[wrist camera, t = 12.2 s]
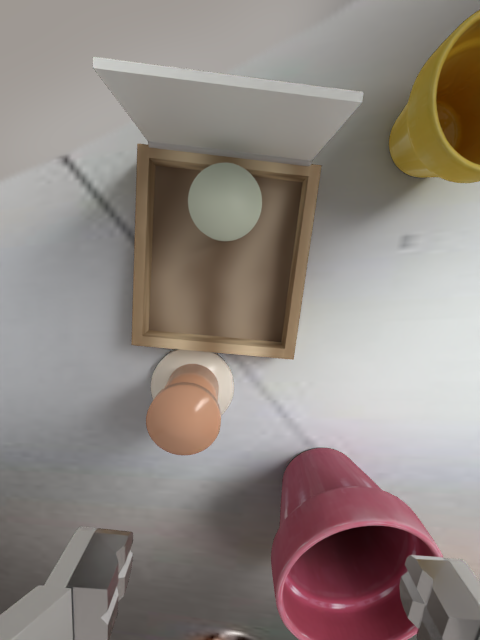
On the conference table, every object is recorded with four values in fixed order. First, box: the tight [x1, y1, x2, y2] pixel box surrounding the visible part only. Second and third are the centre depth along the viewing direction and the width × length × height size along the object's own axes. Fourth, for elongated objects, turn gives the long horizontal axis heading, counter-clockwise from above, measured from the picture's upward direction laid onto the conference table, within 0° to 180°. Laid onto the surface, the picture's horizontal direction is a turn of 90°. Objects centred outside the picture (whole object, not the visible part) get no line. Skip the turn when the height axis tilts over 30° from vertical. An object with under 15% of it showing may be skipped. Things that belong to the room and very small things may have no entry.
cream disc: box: [151, 349, 234, 415], centre depth 34 cm, size 9×9×1 cm
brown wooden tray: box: [131, 144, 321, 359], centre depth 30 cm, size 16×18×3 cm
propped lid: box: [93, 57, 364, 166], centre depth 22 cm, size 14×1×11 cm, turn 84°
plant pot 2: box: [389, 10, 480, 183], centre depth 25 cm, size 10×10×10 cm
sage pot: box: [188, 163, 262, 241], centre depth 27 cm, size 6×6×6 cm
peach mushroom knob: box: [146, 364, 221, 455], centre depth 30 cm, size 6×6×7 cm
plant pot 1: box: [271, 448, 443, 640], centre depth 31 cm, size 14×14×13 cm
